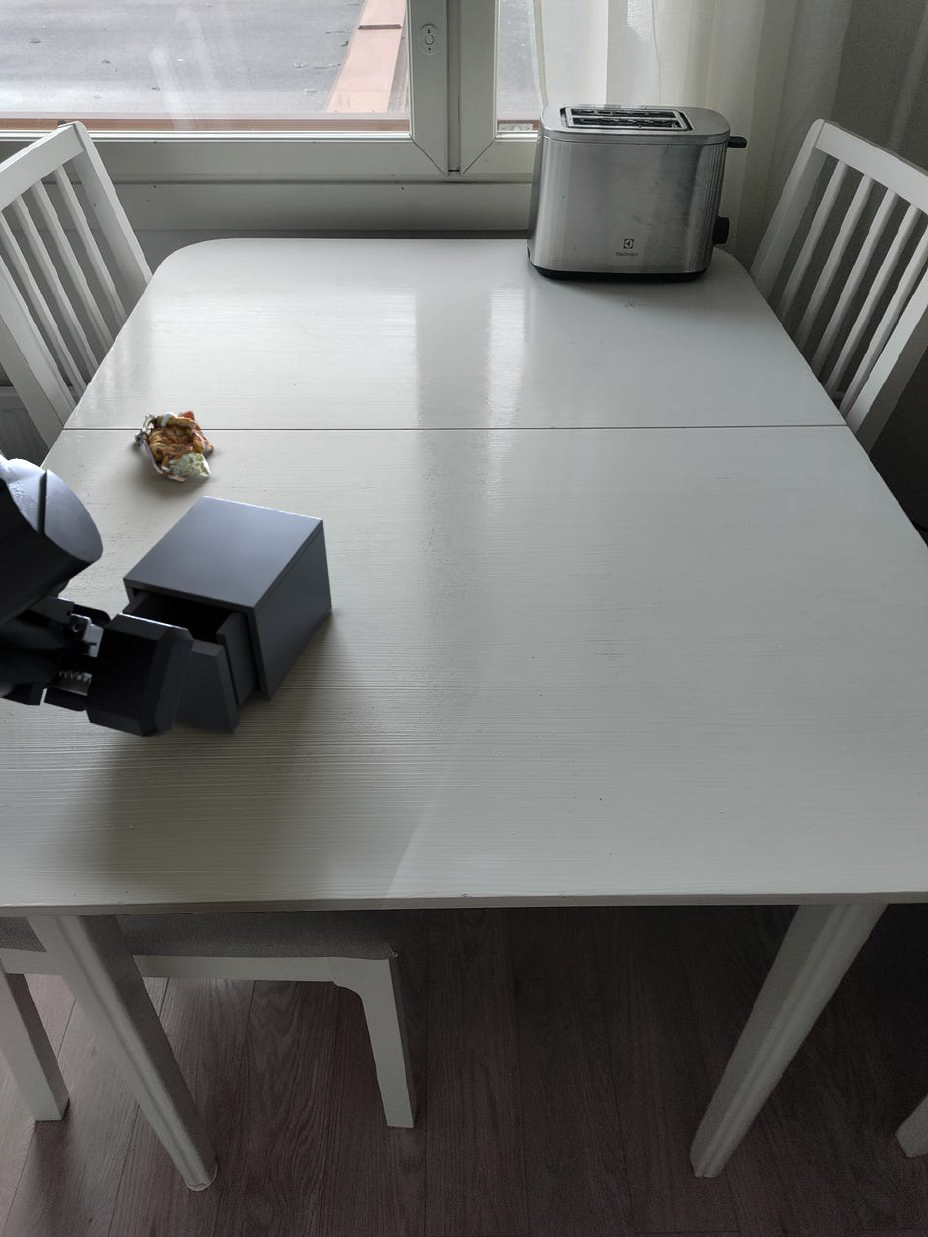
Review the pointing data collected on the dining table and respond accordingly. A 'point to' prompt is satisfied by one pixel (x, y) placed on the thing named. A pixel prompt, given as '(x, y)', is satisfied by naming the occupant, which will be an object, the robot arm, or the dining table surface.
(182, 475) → the pastry
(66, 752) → the dining table surface
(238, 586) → the dark grey box
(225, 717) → the fryer drawer
